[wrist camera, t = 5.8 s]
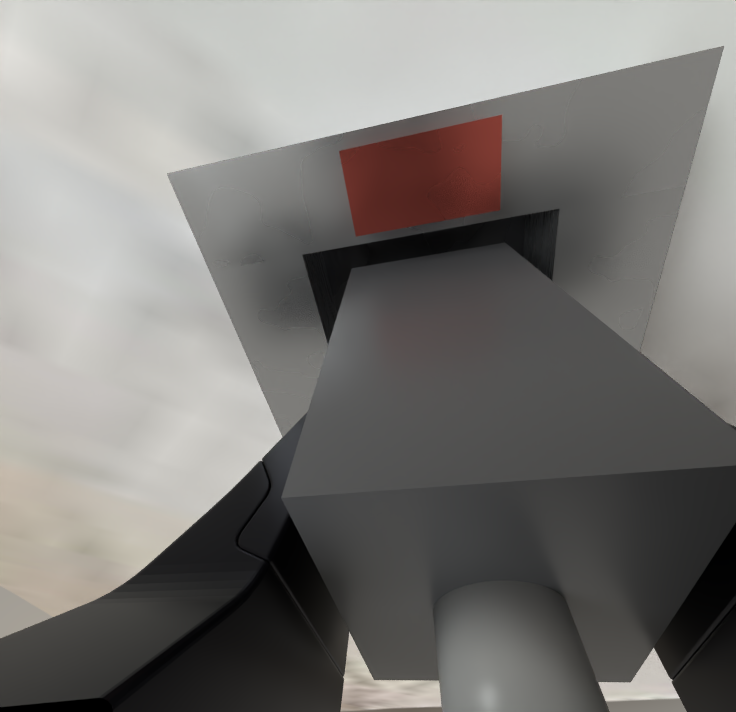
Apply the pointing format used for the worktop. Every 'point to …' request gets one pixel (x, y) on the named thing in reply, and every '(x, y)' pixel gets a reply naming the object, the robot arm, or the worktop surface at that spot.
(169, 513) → the worktop surface
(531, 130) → the socket plate
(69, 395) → the worktop surface
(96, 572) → the worktop surface
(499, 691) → the plug
